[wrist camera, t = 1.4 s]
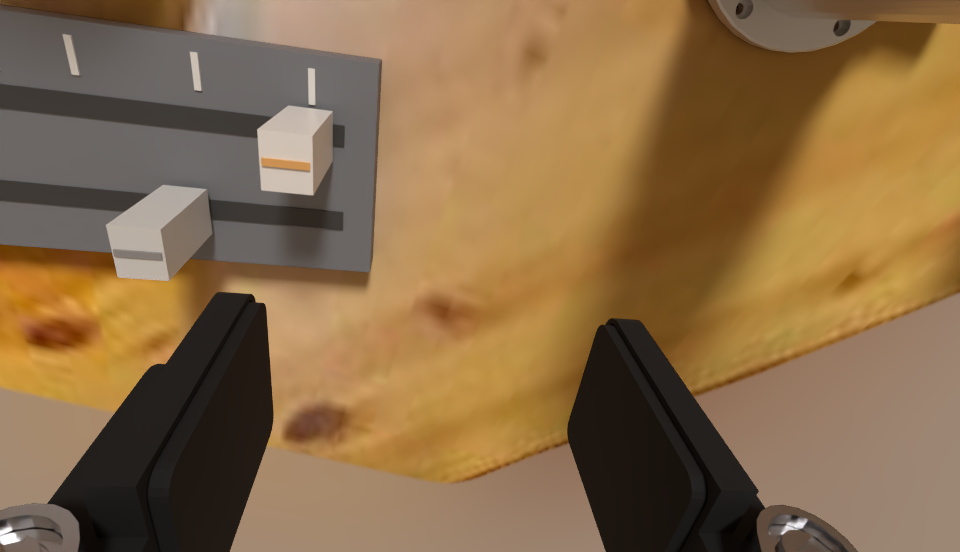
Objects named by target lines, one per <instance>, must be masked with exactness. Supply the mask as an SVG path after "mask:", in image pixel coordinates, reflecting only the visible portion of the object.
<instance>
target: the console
mask: <svg viewBox="0 0 960 552" xmlns="http://www.w3.org/2000/svg"><path fill="white" fill-rule="evenodd" d="M381 70H382V60H381V59H374V58H368V57H361V56H354V55H347V54H340V53H333V52H326V51H319V50H312V49H305V48H298V47H291V46H284V45H277V44H270V43H263V42H257V41H250V40H243V39H236V38H229V37H222V36H215V35H208V34H201V33H194V32H187V31H180V30H173V29H166V28H159V27H152V26H146V25H139V24H132V23H125V22H118V21H111V20H104V19H97V18H90V17H83V16H76V15H69V14H62V13H55V12H48V11H41V10H35V9H28V8H21V7H14V6H7V5H0V244H2V245H15V246H28V247H42V248H55V249H68V250H81V251H94V252H108V253H112V250H111V246H110V241H109V237H108V232H107V228H106V224H108V223H109V222H111V221H112V220H114V219H115V218H116V217H118V216H119V215H121V214H122V213H124V212H125V211H126V210H128V209H129V208H131V207H132V206H134V205H135V204H136V203H138V202H139V201H141V200H142V199H144V198H145V197H146V196H148V195H149V194H151V193H152V192H154V191H155V190H156V189H158V188H159V187H161V186H162V185H170V186H180V187H190V188H201V189H207V193H208V201H209V209H210V217H211V226H212V235H211V236H210V237H209V238H208V239H207V240H206V241H205V242H204V243H203V244H202V246H201V247H200V248H199V249H198V250H197V251H196V252H195V253H194V254H193V255H192V257H191V258H190V259H200V260H213V261H226V262H240V263H253V264H266V265H279V266H292V267H306V268H319V269H332V270H345V271H358V272H370V269H371V263H372V258H373V241H374V220H375V199H376V177H377V156H378V134H379V113H380V92H381ZM288 105H289V106H296V107H304V108H312V109H320V110H328V111H333V161H332V163H331V165H330V167H329V169H328V170H327V172H326V174H325V176H324V177H323V179H322V181H321V183H320V185H319V186H318V188H317V190H316V192H315V193H314V195H303V194H293V193H283V192H273V191H263V190H261V180H260V165H259V150H258V135H257V129H258V128H260V127H261V126H262V125H264V124H265V123H266V122H267V121H269V120H270V119H271V118H273V117H274V116H275V115H277V114H278V113H279V112H280V111H282V110H283V109H284V108H286V107H287V106H288Z"/></svg>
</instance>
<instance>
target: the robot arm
mask: <svg viewBox="0 0 960 552" xmlns="http://www.w3.org/2000/svg"><path fill="white" fill-rule="evenodd" d="M708 2H709V4H710V5H711V7H712V9H713V10H714V12H715V14H716V15H717V17H718V19H719V20H720V21H721V22H722V23H723V24H724V25H725V26H726V27H727V28H728V29H729V30H730V31H731V32H732V33H733V34H734V35H736V36H737V37H739V38H741V39H742V40H744V41H746V42H747V43H749V44H751V45H754V46H757V47H761V48H764V49H767V50H772V51H782V52H789V53H793V52H809V51H815V50H819V49H823V48H826V47H830V46H834V45H836V44H839V43H841V42H843V41H845V40H847V39H849V38H851V37H854V36H856V35H858V34H859V33H861V32H862V31H864V30H865V29H867V28H868V27H870V26H871V25H873V24H874V23H876V22H877V21H892V22H919V23H946V24H960V0H708ZM737 5H738V11H737V12H736V7H737ZM272 425H273V400H272V386H271V371H270V357H269V343H268V328H267V314H266V306H265V304H264V303H256V301H255V298H254V296H253V295H252V294H241V293H226V292H218V293H216V294H215V295H214V297H213V298H212V299H211V301H210V302H209V304H208V305H207V307H206V308H205V309H204V311H203V312H202V314H201V315H200V316H199V318H198V319H197V321H196V322H195V323H194V325H193V326H192V328H191V329H190V330H189V332H188V333H187V335H186V336H185V338H184V339H183V340H182V342H181V343H180V345H179V346H178V347H177V349H176V350H175V352H174V353H173V354H172V356H171V357H170V359H169V360H168V362H167V363H166V364H156V365H153V366H151V367H150V368H149V369H148V370H147V371H146V372H145V374H144V375H143V376H142V378H141V379H140V380H139V382H138V383H137V384H136V386H135V387H134V388H133V390H132V391H131V392H130V394H129V395H128V396H127V398H126V399H125V400H124V402H123V403H122V404H121V406H120V407H119V408H118V410H117V411H116V412H115V414H114V415H113V416H112V418H111V419H110V420H109V422H108V423H107V425H106V426H105V427H104V429H103V430H102V431H101V433H100V434H99V435H98V437H97V438H96V439H95V441H94V442H93V443H92V445H91V446H90V447H89V449H88V450H87V451H86V453H85V454H84V455H83V457H82V458H81V459H80V461H79V462H78V463H77V465H76V466H75V467H74V469H73V470H72V471H71V473H70V474H69V475H68V477H67V478H66V479H65V481H64V482H63V483H62V485H61V486H60V487H59V489H58V490H57V491H56V493H55V494H54V495H53V497H52V498H51V499H50V501H49V502H48V503H47V504H38V503H32V504H26V505H19V506H14V507H9V508H6V509H3V510H0V552H230V549H231V546H232V543H233V540H234V537H235V534H236V532H237V529H238V526H239V523H240V520H241V517H242V514H243V512H244V509H245V506H246V503H247V500H248V497H249V494H250V492H251V488H252V486H253V483H254V480H255V477H256V474H257V472H258V469H259V465H260V463H261V460H262V457H263V454H264V452H265V449H266V446H267V443H268V440H269V437H270V434H271V431H272ZM567 434H568V440H569V444H570V447H571V450H572V453H573V456H574V459H575V462H576V464H577V468H578V470H579V474H580V476H581V480H582V482H583V485H584V488H585V491H586V494H587V497H588V500H589V503H590V506H591V509H592V512H593V515H594V518H595V521H596V524H597V527H598V530H599V533H600V536H601V539H602V542H603V545H604V548H605V550H606V552H858V551H857V550H856V549H855V548H854V546H853V545H852V544H851V543H850V542H849V541H848V540H847V539H846V538H845V537H844V536H843V535H841V534H840V533H839V532H838V531H837V530H836V529H835V528H833V527H832V526H831V525H829V524H828V523H826V522H825V521H823V520H821V519H820V518H818V517H817V516H815V515H813V514H811V513H808V512H806V511H804V510H801V509H799V508H795V507H790V506H786V505H775V506H769V507H767V508H766V509H765V507H764V506H763V505H762V503H761V501H760V500H759V499H758V497H757V496H756V495H757V493H758V492H759V491H758V489H757V488H756V486H755V485H754V484H753V482H752V481H751V479H750V478H749V476H748V475H747V473H746V472H745V471H744V469H743V468H742V466H741V465H740V464H739V462H738V460H737V459H736V458H735V456H734V455H733V453H732V452H731V450H730V449H729V447H728V446H727V445H726V444H725V442H724V440H723V439H722V437H721V436H720V434H719V433H718V432H717V430H716V429H715V427H714V426H713V424H712V423H711V421H710V420H709V419H708V417H707V416H706V414H705V413H704V411H703V410H702V409H701V407H700V406H699V404H698V403H697V401H696V400H695V398H694V397H693V396H692V394H691V393H690V391H689V390H688V388H687V387H686V385H685V384H684V383H683V381H682V380H681V378H680V377H679V375H678V374H677V372H676V371H675V370H674V368H673V367H672V365H671V364H670V362H669V361H668V359H667V358H666V357H665V355H664V354H663V352H662V351H661V349H660V348H659V346H658V345H657V344H656V342H655V341H654V339H653V338H652V336H651V335H650V334H649V332H648V331H647V329H646V328H645V326H644V325H643V323H641V322H640V321H639V320H629V319H614V318H612V319H609V320H608V322H607V323H606V325H600V326H599V327H598V329H597V332H596V335H595V338H594V341H593V344H592V348H591V351H590V354H589V357H588V361H587V364H586V367H585V370H584V374H583V377H582V380H581V383H580V386H579V390H578V393H577V396H576V399H575V403H574V406H573V409H572V412H571V415H570V419H569V422H568V428H567Z"/></svg>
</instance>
